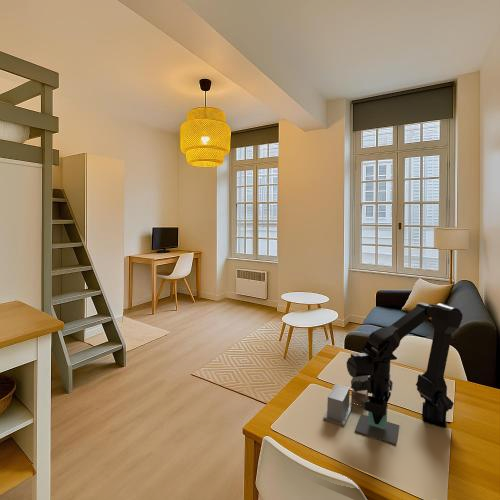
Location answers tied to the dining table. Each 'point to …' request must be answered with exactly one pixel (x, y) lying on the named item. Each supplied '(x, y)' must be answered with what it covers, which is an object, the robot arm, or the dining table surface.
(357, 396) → the walnut block
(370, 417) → the teal block
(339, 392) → the grey upright box
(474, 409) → the dining table surface
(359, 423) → the dark grey mat
